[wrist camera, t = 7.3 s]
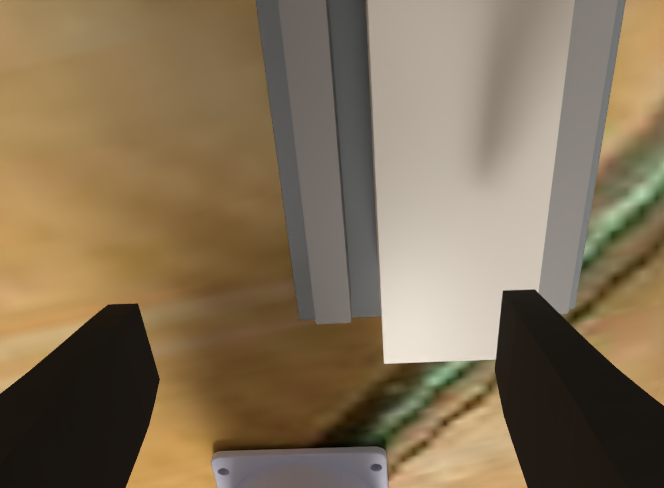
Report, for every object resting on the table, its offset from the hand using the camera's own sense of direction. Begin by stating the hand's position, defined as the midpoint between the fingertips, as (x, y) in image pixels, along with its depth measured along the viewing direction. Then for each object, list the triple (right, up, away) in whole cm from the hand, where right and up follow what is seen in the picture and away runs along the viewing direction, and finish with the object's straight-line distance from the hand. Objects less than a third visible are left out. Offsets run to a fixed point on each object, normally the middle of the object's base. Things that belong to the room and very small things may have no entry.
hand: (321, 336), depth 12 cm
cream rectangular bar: (+3, +6, +6) cm, 9 cm away
